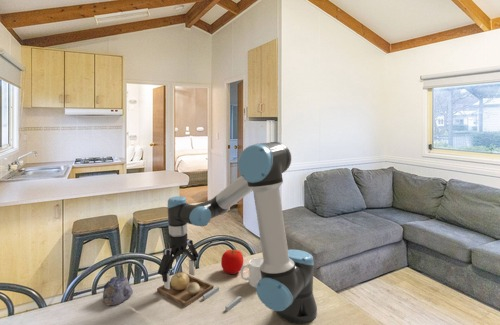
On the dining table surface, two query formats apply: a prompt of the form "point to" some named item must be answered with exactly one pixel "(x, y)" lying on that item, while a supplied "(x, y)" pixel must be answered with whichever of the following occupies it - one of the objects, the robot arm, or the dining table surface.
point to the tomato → (232, 261)
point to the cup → (253, 271)
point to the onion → (179, 281)
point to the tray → (186, 292)
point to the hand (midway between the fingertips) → (180, 281)
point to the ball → (193, 288)
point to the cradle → (226, 305)
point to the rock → (117, 290)
